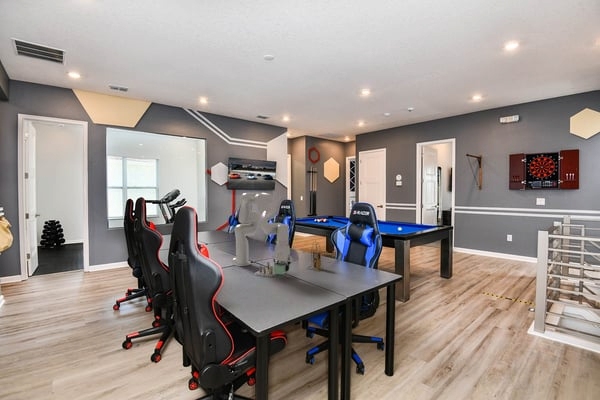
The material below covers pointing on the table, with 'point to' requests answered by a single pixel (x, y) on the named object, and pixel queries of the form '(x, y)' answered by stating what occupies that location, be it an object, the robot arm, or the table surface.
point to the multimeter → (316, 258)
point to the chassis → (266, 271)
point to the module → (280, 268)
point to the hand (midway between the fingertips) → (282, 269)
